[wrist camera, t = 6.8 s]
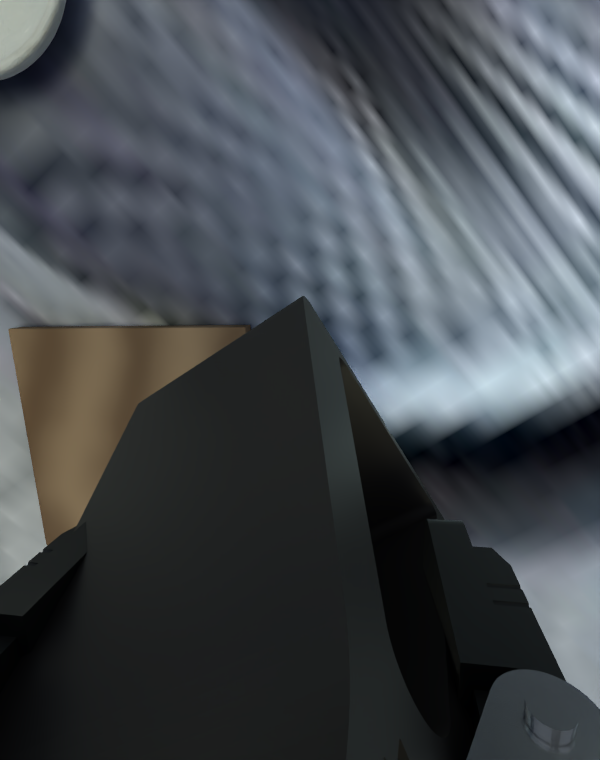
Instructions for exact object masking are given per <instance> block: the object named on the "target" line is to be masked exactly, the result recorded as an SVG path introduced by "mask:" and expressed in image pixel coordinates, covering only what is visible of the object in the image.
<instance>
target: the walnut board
mask: <svg viewBox="0 0 600 760" xmlns="http://www.w3.org/2000/svg"><path fill="white" fill-rule="evenodd" d="M8 330H9V335H10V341H11V346H12V352H13V358H14V363H15V369H16V375H17V380H18V386H19V392H20V397H21V403H22V409H23V414H24V420H25V425H26V431H27V437H28V442H29V448H30V454H31V459H32V465H33V471H34V476H35V482H36V488H37V493H38V499H39V505H40V510H41V516H42V521H43V527H44V533H45V538H46V544H47V545H49V544H50V543H51V542H52V541H54V540H55V539H56V538H57V537H58V536H59V535H61V534H62V533H64V532H66V531H68V530H70V529H72V528H73V527H75V526H77V524H78V522H79V520H80V518H81V516H82V514H83V512H84V510H85V508H86V506H87V504H88V502H89V500H90V498H91V496H92V494H93V492H94V490H95V488H96V486H97V484H98V482H99V480H100V478H101V476H102V474H103V472H104V470H105V468H106V466H107V464H108V462H109V460H110V458H111V456H112V454H113V452H114V450H115V448H116V446H117V444H118V442H119V440H120V438H121V436H122V434H123V432H124V430H125V428H126V427H127V425H128V423H129V421H130V419H131V417H132V415H133V413H134V411H135V409H136V407H137V405H138V403H140V402H141V401H143V400H144V399H146V398H147V397H149V396H150V395H152V394H153V393H155V392H156V391H158V390H159V389H161V388H163V387H164V386H166V385H167V384H169V383H170V382H172V381H173V380H175V379H176V378H178V377H179V376H181V375H182V374H184V373H186V372H187V371H189V370H190V369H192V368H193V367H195V366H196V365H198V364H199V363H201V362H202V361H204V360H205V359H207V358H209V357H210V356H212V355H213V354H215V353H216V352H218V351H219V350H221V349H222V348H224V347H225V346H227V345H228V344H230V343H232V342H233V341H235V340H236V339H238V338H239V337H241V336H242V335H244V334H245V333H247V332H248V331H250V330H251V328H250V325H183V326H59V327H18V328H11V329H8Z"/></svg>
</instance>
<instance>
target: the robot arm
mask: <svg viewBox="0 0 600 760" xmlns="http://www.w3.org/2000/svg"><path fill="white" fill-rule="evenodd" d="M75 528H76V526H75V527H73V528H72V529H70V530H68V531H66V532H64V533H62V534H61V535H59V536H58V537H57V538H56V539H55V540H54V541H52V542H51V543H50V544H49V545H48V546H47V547H45V548H44V549H43V552H40V553H38V554H37V555H36V556H35V557H34V558H32V559H31V560H30V561H29V562H28V565H27V566H25V565H24V566H23V567H22V568H21V569H20V570H18V571H17V572H16V573H15V574H14V575H13V576H11V577H10V578H9V579H8V580H7V581H5V582H4V583H3V584H2V585H1V586H0V693H1V691H2V689H3V688H4V686H5V684H6V682H7V681H8V679H9V677H10V676H11V674H12V672H13V670H14V669H15V667H16V665H17V663H18V662H19V660H20V658H21V657H22V656H24V655H26V654H28V653H30V652H31V650H32V649H33V647H34V645H35V643H36V642H37V640H38V638H39V636H40V635H41V633H42V631H43V629H44V627H45V626H46V624H47V622H48V620H49V619H50V617H51V615H52V613H53V612H54V610H55V608H56V606H57V604H58V603H59V601H60V599H61V597H62V596H63V594H64V592H65V590H66V589H67V587H68V585H69V583H70V581H71V580H72V578H73V576H74V574H75V573H76V571H77V569H78V567H79V566H80V564H81V562H82V560H83V559H84V557H85V555H86V553H87V533H86V522H84V523H83V524H82V525H81V526H80V527H79V528H78V529H77V530H75ZM74 530H75V531H74ZM423 569H424V572H425V575H426V578H427V581H428V584H429V587H430V590H431V593H432V596H433V599H434V603H435V606H436V609H437V612H438V615H439V618H440V621H441V624H442V627H443V630H444V633H445V638H446V642H447V647H448V652H449V657H450V662H451V666H452V671H453V676H454V681H455V686H456V690H457V695H458V699H459V700H460V702H461V703H462V705H463V706H464V708H465V709H466V711H467V712H468V714H469V715H470V717H471V719H472V723H473V728H474V732H475V736H474V739H473V742H472V745H471V748H470V751H469V754H468V757H467V760H600V709H599V708H598V707H597V706H596V705H595V704H594V703H593V702H592V701H591V700H590V699H589V698H588V697H587V696H586V695H585V694H583V693H582V692H581V691H580V690H578V689H577V688H575V687H574V686H572V685H571V684H569V683H567V682H566V680H565V678H564V676H563V674H562V672H561V670H560V668H559V666H558V664H557V661H556V659H555V657H554V655H553V653H552V651H551V649H550V647H549V645H548V643H547V641H546V638H545V636H544V634H543V632H542V630H541V628H540V626H539V624H538V622H537V620H536V618H535V615H534V613H533V611H532V609H531V608H529V603H528V601H527V599H526V597H525V595H524V592H523V590H521V589H520V584H519V582H518V580H517V578H516V576H515V574H514V572H513V569H512V567H511V565H510V564H509V563H507V562H506V561H505V560H504V559H503V558H502V557H501V556H500V555H499V554H498V553H497V552H495V551H494V550H493V549H492V548H486V547H472V544H471V541H470V539H469V536H468V533H467V530H466V528H465V525H464V523H463V521H454V520H436V519H426V520H425V527H424V550H423Z"/></svg>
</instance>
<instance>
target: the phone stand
mask: <svg viewBox="0 0 600 760" xmlns="http://www.w3.org/2000/svg"><path fill="white" fill-rule="evenodd" d="M426 519H436V520H444V518H443V516H442V515H441V513H440V512H439V510H438V508H437V507H436V505H435V504H434V502H433V500H432V499H431V497H430V495H429V494H428V492H427V491H426V489H425V487H424V486H423V484H422V483H421V481H420V479H419V478H418V476H417V475H416V473H415V471H414V470H413V468H412V466H411V465H410V463H409V462H408V460H407V458H406V457H405V455H404V454H403V452H402V450H401V449H400V447H399V446H398V444H397V442H396V441H395V439H394V438H393V436H392V434H390V433H389V431H388V430H387V428H386V426H385V423H384V421H383V420H382V418H381V417H380V415H379V413H378V412H377V410H376V409H375V407H374V405H373V404H372V402H371V400H370V399H369V397H368V396H367V394H366V392H365V391H364V389H363V388H362V386H361V384H360V383H359V381H358V380H357V378H356V376H355V375H354V373H353V371H352V370H351V368H350V367H349V365H348V363H347V362H346V360H345V359H344V357H343V355H342V354H341V352H340V351H339V349H338V347H337V346H336V344H335V342H334V341H333V339H332V338H331V336H330V334H329V333H328V331H327V330H326V328H325V326H324V325H323V323H322V322H321V320H320V318H319V317H318V315H317V313H316V312H315V310H314V309H313V307H312V305H311V304H310V302H309V301H308V300H307V299H306V297H305V296H302V297H300V298H299V299H297V300H296V301H294V302H293V303H291V304H290V305H288V306H287V307H285V308H284V309H282V310H281V311H279V312H277V313H276V314H274V315H273V316H271V317H270V318H268V319H267V320H265V321H264V322H262V323H261V324H259V325H258V326H256V327H254V328H253V329H251V330H250V331H248V332H247V333H245V334H244V335H242V336H241V337H239V338H238V339H236V340H235V341H233V342H232V343H230V344H228V345H227V346H225V347H224V348H222V349H221V350H219V351H218V352H216V353H215V354H213V355H212V356H210V357H209V358H207V359H205V360H204V361H202V362H201V363H199V364H198V365H196V366H195V367H193V368H192V369H190V370H189V371H187V372H186V373H184V374H182V375H181V376H179V377H178V378H176V379H175V380H173V381H172V382H170V383H169V384H167V385H166V386H164V387H163V388H161V389H159V390H158V391H156V392H155V393H153V394H152V395H150V396H149V397H147V398H146V399H144V400H143V401H141V402H140V403H138V405H137V407H136V409H135V411H134V413H133V415H132V417H131V419H130V421H129V423H128V425H127V427H126V428H125V430H124V432H123V434H122V436H121V438H120V440H119V442H118V444H117V446H116V448H115V450H114V452H113V454H112V456H111V458H110V460H109V462H108V464H107V466H106V468H105V470H104V472H103V474H102V476H101V478H100V480H99V482H98V484H97V486H96V488H95V490H94V492H93V494H92V496H91V498H90V500H89V502H88V504H87V506H86V508H85V510H84V512H83V514H82V516H81V518H80V520H79V522H78V524H77V526H76V528H75V530H77V529H78V528H79V527H80V526H81V525H82V524H83V523H84V522H86V533H87V553H86V555H85V557H84V559H83V560H82V562H81V564H80V566H79V567H78V569H77V571H76V573H75V574H74V576H73V578H72V580H71V581H70V583H69V585H68V587H67V589H66V590H65V592H64V594H63V596H62V597H61V599H60V601H59V603H58V604H57V606H56V608H55V610H54V612H53V613H52V615H51V617H50V619H49V620H48V622H47V624H46V626H45V627H44V629H43V631H42V633H41V635H40V636H39V638H38V640H37V642H36V643H35V645H34V647H33V649H32V650H31V652H30V653H28V654H26V655H24V656H22V657H21V658H20V660H19V662H18V663H17V665H16V667H15V669H14V670H13V672H12V674H11V676H10V677H9V679H8V681H7V682H6V684H5V686H4V688H3V689H2V691H1V693H0V760H467V757H468V754H469V751H470V748H471V745H472V742H473V739H474V736H475V732H474V728H473V723H472V719H471V717H470V715H469V714H468V712H467V711H466V709H465V708H464V706H463V705H462V703H461V702H460V700H459V699H458V695H457V690H456V686H455V681H454V676H453V671H452V666H451V662H450V657H449V652H448V647H447V642H446V638H445V633H444V630H443V627H442V624H441V621H440V618H439V615H438V612H437V609H436V606H435V603H434V599H433V596H432V593H431V590H430V587H429V584H428V581H427V578H426V575H425V572H424V569H423V550H424V527H425V520H426ZM75 530H74V531H75Z"/></svg>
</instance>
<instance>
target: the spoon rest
mask: <svg viewBox="0 0 600 760" xmlns="http://www.w3.org/2000/svg"><path fill="white" fill-rule="evenodd" d="M65 4H66V0H0V80H4V79H7V78H10V77H12V76H14V75H16V74H18V73H20V72H22V71H24V70H25V69H27V68H28V67H29V66H30V65H32V64H33V63H34V62H35V61H36V60H37V59H38V58H39V57H40V56H41V55H42V54H43V53H44V51H45V50H46V49H47V48H48V46H49V45H50V43H51V41H52V40H53V38H54V37H55V34H56V32H57V30H58V28H59V25H60V22H61V20H62V16H63V13H64V9H65Z"/></svg>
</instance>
